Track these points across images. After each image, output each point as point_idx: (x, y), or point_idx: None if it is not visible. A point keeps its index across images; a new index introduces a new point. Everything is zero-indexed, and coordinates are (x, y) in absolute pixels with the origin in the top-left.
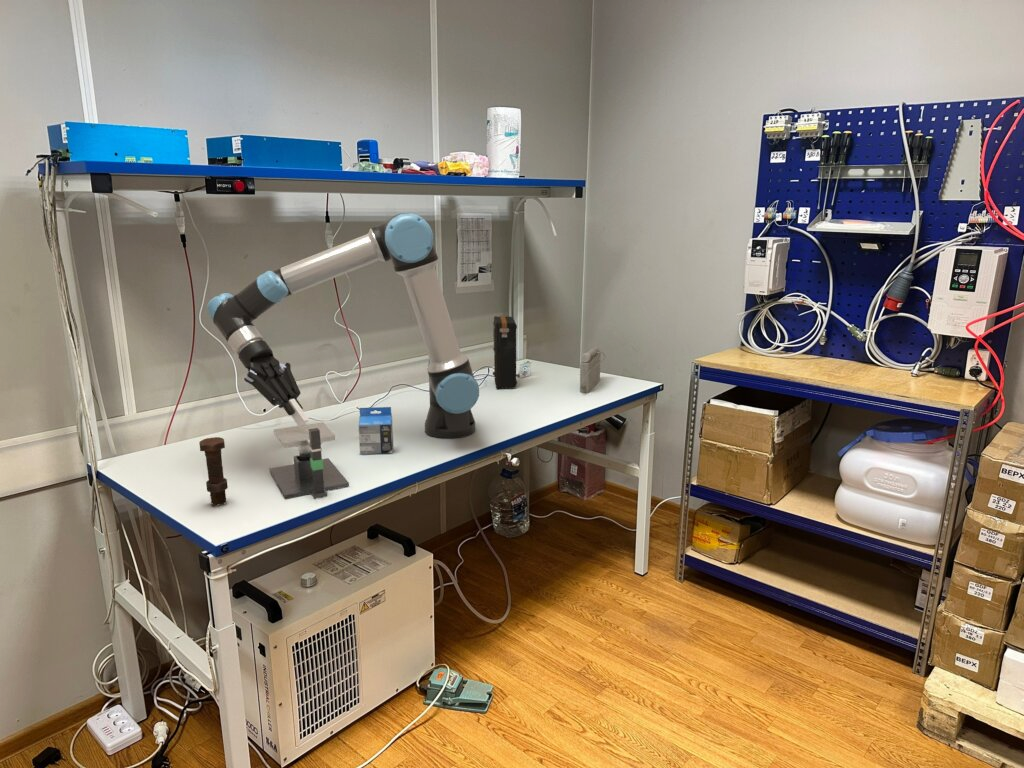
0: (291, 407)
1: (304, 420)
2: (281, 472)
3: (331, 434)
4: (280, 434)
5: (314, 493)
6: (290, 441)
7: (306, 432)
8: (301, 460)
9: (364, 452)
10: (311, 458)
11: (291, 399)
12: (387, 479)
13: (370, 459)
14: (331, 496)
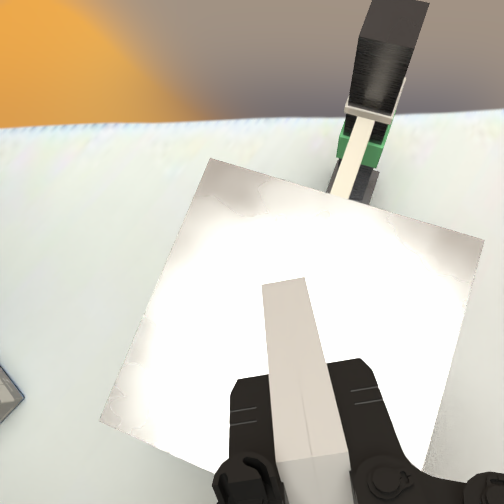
0: (344, 400)
1: (301, 279)
2: None
3: (212, 184)
4: (416, 411)
5: (373, 179)
6: (434, 245)
7: None
8: None
9: (10, 386)
10: (384, 135)
11: (317, 454)
12: (134, 143)
13: (39, 327)
14: (328, 156)
